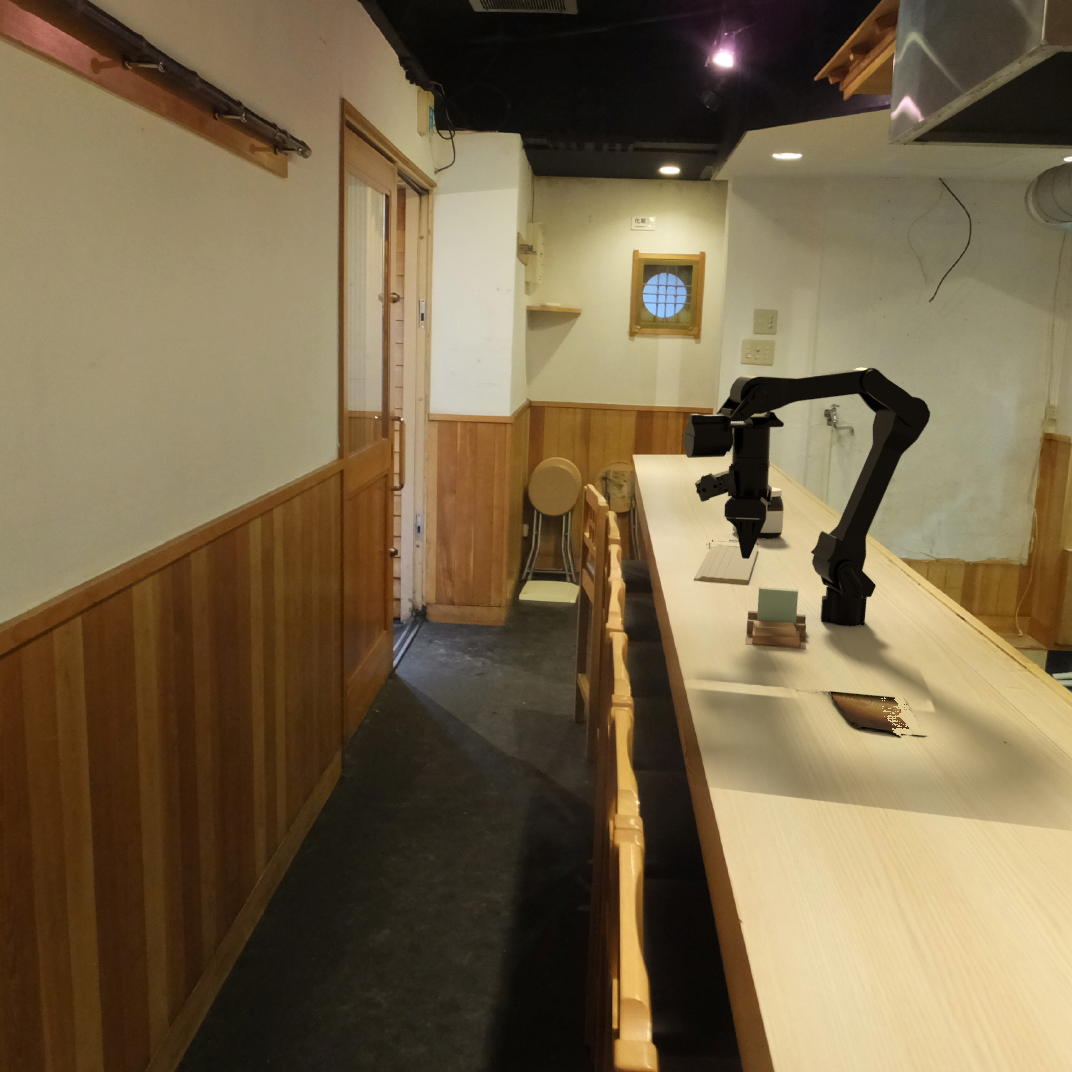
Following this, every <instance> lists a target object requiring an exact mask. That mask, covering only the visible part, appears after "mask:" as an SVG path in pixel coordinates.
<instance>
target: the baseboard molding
mask: <svg viewBox="0 0 1072 1072" xmlns="http://www.w3.org/2000/svg"><path fill="white" fill-rule="evenodd" d="M711 542H712V543H714V540H713V539H712V540H711ZM719 542H724V543H725V541H724V540H723V541H721V540H720V541H719ZM728 542H732V543H736V544H737V543H739V540H738V539H737V540H735V539H729V540H728ZM756 545H757V546H754V548H753V551H752V553H751V555H750V558H749V559H743V558H742V555H741V550H740V545H739V546H738V545H730V544H729V545H728V544H725V545H724V544H716V545H714V546H711V543H706V546H708V547H709V550H708V552H707V553H706V555H705V558H703V561H702V562H701V565H700V567H699V568H698V570H697V572H696V574H695V576H694V578H693V580H694V581H703V582H713V583H714V582H715V583H728V584H737V585H739V584H740V585H741V584H742V585H748V584H749V581H750V577H751V575H752V571H753V568H754V565H755V561H756V558H757V554H758V551H759V547H758V545H759V543H758V542H756Z"/></svg>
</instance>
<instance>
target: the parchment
mask: <svg viewBox="0 0 1072 1072" xmlns="http://www.w3.org/2000/svg"><path fill="white" fill-rule="evenodd" d="M829 694H830V695H831V700H832V701H834V702H835V703H836V706H838V707H839V709H841V712H842V713H843V714H844V716H845V717H846V719H847V720H849V721H850V723H851V724H852V725H853V726H854V728H856V729H859V728H863V727H866V728H870V729H876V730H880V731H881V730H882V731H883V730H884V731H887V732H890V733H891V732H892V733H893V731H894V730H892V728H894V729H896V728H902V729H903V728H906V729H909V727H908V726H907V727H905V726H906V725H905V724H906V723H905V722H904V721H903V720H902V719H901V718H900V717H896V719H893V720H896V721H897V720H898V722H893V723H895V724H898V725H900V726H902V727H897V726H898V725H896V726H895V725H894V724H893V723H892V722H890V721H888V719H887V718H888V717H887V716H888V715H891V716H895V715H896V716H897V715H899V713H901V709H897V708H896V707H893V706H898V703H897V702H896V701H895V700H894V699H895V697H896V696H887V695H886V696H885V695H874V694H865V693H864V694H862V693H852V692H841V691H832V690H830V691H829ZM884 697H885V698H886V699H884ZM881 698H883V699H881ZM882 700H883V701H882ZM884 700H885V701H884ZM904 705H905V704H904ZM906 705H908V703H907V704H906ZM882 706H884V707H882ZM882 708H883V709H882ZM888 708H891V709H888ZM898 708H899V707H898ZM904 708H905V707H904ZM910 709H911V708H910ZM910 709H909V710H910ZM884 710H886V711H891V712H883V711H884ZM904 710H905V709H904ZM906 710H907V709H906ZM895 711H896V712H895ZM897 711H899V712H897ZM892 712H894V713H895V714H892ZM890 713H891V714H890ZM884 716H885V717H884ZM889 718H892V717H889ZM893 718H895V717H893ZM889 720H891V721H892V719H889ZM899 721H900V722H899ZM899 723H900V724H899ZM901 723H902V724H901ZM892 724H893V725H892ZM903 724H904V725H903Z"/></svg>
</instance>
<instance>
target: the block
mask: <svg viewBox="0 0 1072 1072" xmlns="http://www.w3.org/2000/svg"><path fill="white" fill-rule="evenodd" d="M757 596H758V598H757V600H758V601H757V611H758V613H757V620H761V621H774V622H790V623H796V615H797V614H798V613H797V611H798V599H799V590H798V589H793V588H791V589H790V588H779V587H778V588H777V587H765V586H764V587H762V586H759V587H758V595H757Z"/></svg>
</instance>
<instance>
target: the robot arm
mask: <svg viewBox="0 0 1072 1072" xmlns="http://www.w3.org/2000/svg"><path fill="white" fill-rule="evenodd" d="M851 395H858V396H859V397H860V398H861V399H862V401H863V402H864V404H865V405H866V406H867V407H868V408H869V409H870V410H871V411H872V412H874V413H875V415H874V418H873V422H872V445H871V448H870V451H869V452H868V455H867V457H866V460H865V462H864V464H863V467H862V469H861V471H860V474H859V475H858V478H857V481H856V482H855V485H854V487H853V490H852V492H851V495H850V496H849V499H848V501H847V503H846V506H845V508H844V510H843V513H842V515H841V518H840V520H839V521H838V524H837V525H836V527H834V529H832V531H830V532H829V533H828V532H826V531H823V530H821V531H820V533H819V536H818V537H817V539H818V540H817V542H816V545H815V547H814V548H813V549H812V550H811V551H810V553H811V554H812V555H813V557H812V560H811V563H812V564H811V565H812V566H813V569H814V571H815V573H816V574H817V575H818V576H820V579H821V582H822V585H824V586H826V588H825V595H823V596H822V595H821V596H822V597H821V605H820V622H822V623H826V624H833V625H836V626H842V627H857V626H863V627H864V626H865V624H866V612H867V602H868V601H867V600H868V599H867V598H870V597H872V596H873V593H874V591H875V590H876V587H877V585H876V584H875V582H874V581H873V580H872V579H871V578H870V577H869V576H868V575H867V573H866V572H864V571H863V569H864V567H865V562H866V559H867V536H868V533H869V531H870V528H871V527H872V524H873V522H874V519H875V517H876V515H877V512H878V509H879V507H880V506H881V504H882V501H883V499H884V496H885V494H886V491H887V490H888V488H889V484H890V483H891V480H892V478H893V476H894V473H895V471H896V469H897V466H898V464H899V462H900V461H901V457H902V456H903V454H904V453H905V452H906V451H908V449H909V448H910V447H911V446H912V445H913V444H915V442H917V441H918V440H919V438H920V436H921V435H922V433H923V431H924V430H925V429H926V427H927V425H928V423H929V421H930V418H931V411H930V409H929V406H928V404H927V402H925V400H923V399H922V398H920V397H917V396H912V395H911V394H910V393H908V392H907V391H906V390H905V389H904V388H902V387H900V386H899V385H898V384H896V383H895V382H893V381H891V380H890V379H888V378H887V377H886V376H885V375H884V374H883V373H882V372H881V371H880V370H879V369H877V368H874V367H861V366H860V367H857V368H854V369H848V370H841V371H834V372H833V371H832V372H825V373H824V372H823V373H814V374H808V375H799V376H791V377H782V376H769V375H766V376H765V375H750V374H749V375H742V376H740V377H737V378H736V379H735V381H734V382H733V383H732V384H731V387H730V389H729V396H728V397H727V399H726V400H725V401H724V402H723V403H722V405H721V407H720V408H719V409H718V411H717V412H716V414H699V413H690V414H688V421H687V424H686V426H685V429H684V430H685V431H684V433H683V448H684V449H683V450H684V453H685V455H686V457H687V458H688V459H691V458H693V459H694V458H695V459H696V458H719V457H720V458H721V457H725V456H726V455H727V453H730V452H732V455H731V458H732V459H731V462H730V464H729V465H728V469H727V470H725V471H721V472H717V473H715V474H712V473H711V472H710V473H708V474H706V475H702V476H700V479H698V480H697V481H696V482H695V483H694V485H695V488H696V494H698V496H699V500H700V502H702V503H703V502H707V501H709V500H710V499H711V498H715V497H718V496H721V495H725V494H727V497H729V499H727V500H726V502H725V503H724V516H723V517H725V519H726V521H728V522H729V523H730V524H731V525H733V526H735V527H736V531H737V532H736V535H737V541H738V540H739V542H738V544H739V546H740V550H741V555H742V558H743V559H749V558H750V555H751V553H752V551H753V548H754V547H756V545H757V541H758V539H759V538H758V537H759V534H760V532H761V530H762V528H763V525H764V523H765V521H766V517H767V511H768V509H769V507H770V502H767V501H771V499H772V488H771V487H772V486H770V485H769V474H770V473H769V472H770V471H769V469H770V463H771V462H770V445H771V441H770V440H771V428H783V427H784V426H785V423H784V421H782V420H781V419H780V418H778V416H777V415H776V413H775V412H774V410H775V411H776V410H778V409H781V408H783V407H785V406H788V405H790V404H793V403H797V402H803V401H810V400H820V399H826V398H837V397H843V396H851ZM762 414H763V415H762ZM754 415H762V416H754ZM734 422H735V423H734ZM731 450H732V451H731ZM765 499H767V501H766V500H765Z"/></svg>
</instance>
